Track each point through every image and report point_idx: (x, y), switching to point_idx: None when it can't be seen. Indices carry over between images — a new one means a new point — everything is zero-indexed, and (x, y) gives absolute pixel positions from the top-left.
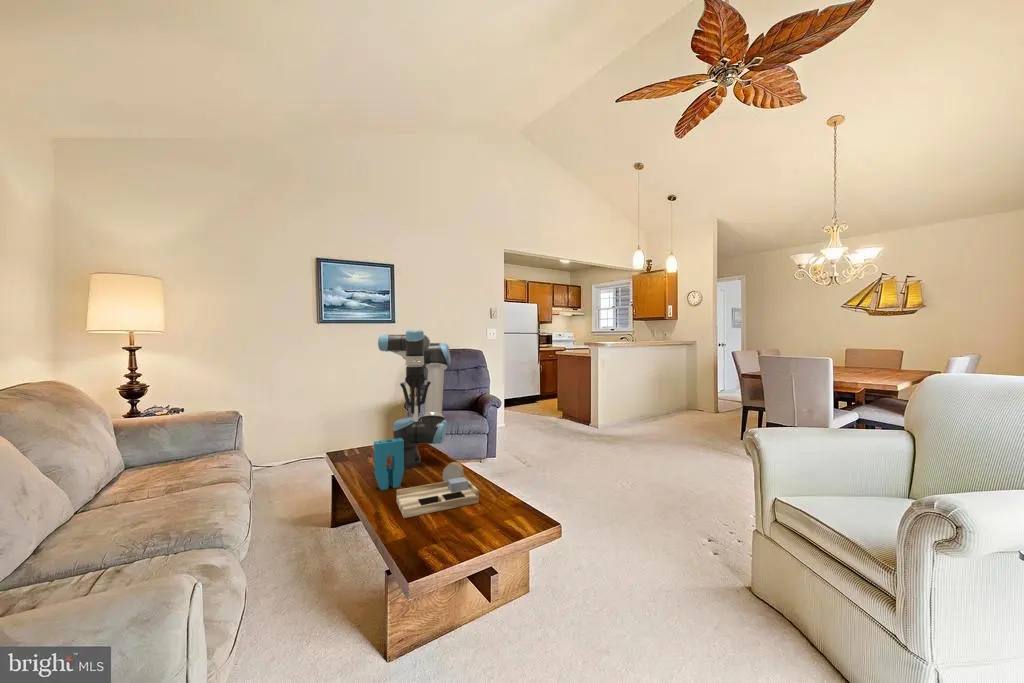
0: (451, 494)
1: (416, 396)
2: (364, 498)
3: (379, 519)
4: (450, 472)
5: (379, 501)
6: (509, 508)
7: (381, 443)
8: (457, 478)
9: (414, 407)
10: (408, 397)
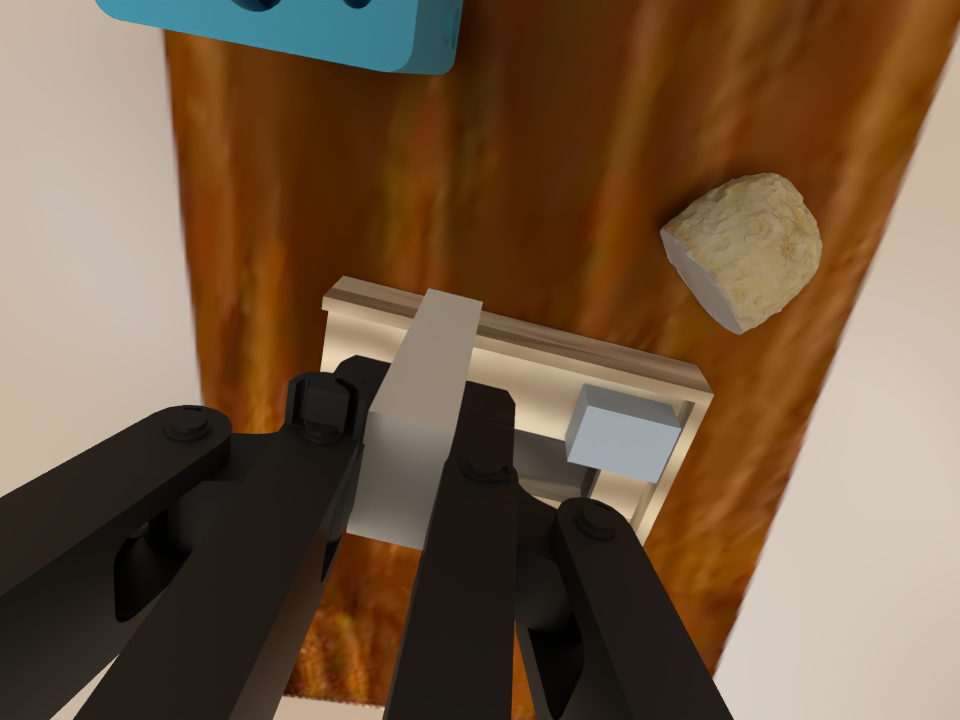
0: (559, 439)
1: (410, 621)
2: (209, 108)
3: (235, 381)
4: (699, 278)
5: (273, 206)
6: (683, 605)
7: (156, 17)
8: (639, 424)
9: (353, 514)
10: (63, 700)
